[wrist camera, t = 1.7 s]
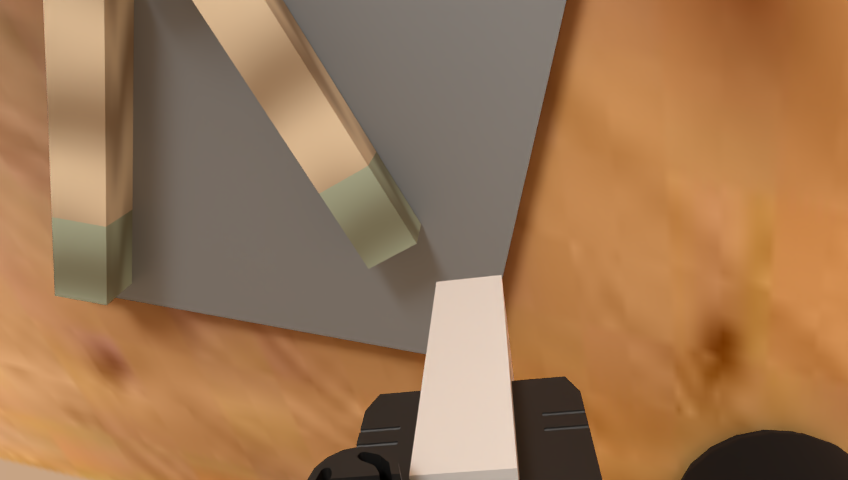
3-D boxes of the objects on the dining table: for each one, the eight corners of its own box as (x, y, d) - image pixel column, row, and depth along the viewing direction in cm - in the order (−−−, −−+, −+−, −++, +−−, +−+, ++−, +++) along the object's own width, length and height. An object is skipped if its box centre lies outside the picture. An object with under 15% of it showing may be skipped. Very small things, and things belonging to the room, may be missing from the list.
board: (59, -203, 28) (41, -211, 26) (587, -109, 27) (592, -113, 26) (73, 277, 36) (60, 287, 34) (482, 352, 35) (482, 364, 34)
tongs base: (73, -182, 27) (-2, -213, 23) (195, -160, 27) (143, -187, 23) (83, 274, 34) (28, 315, 30) (179, 291, 34) (137, 335, 30)
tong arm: (187, -44, 28) (161, -46, 26) (234, -78, 28) (212, -84, 25) (376, 248, 32) (368, 268, 30) (421, 224, 32) (416, 243, 29)
